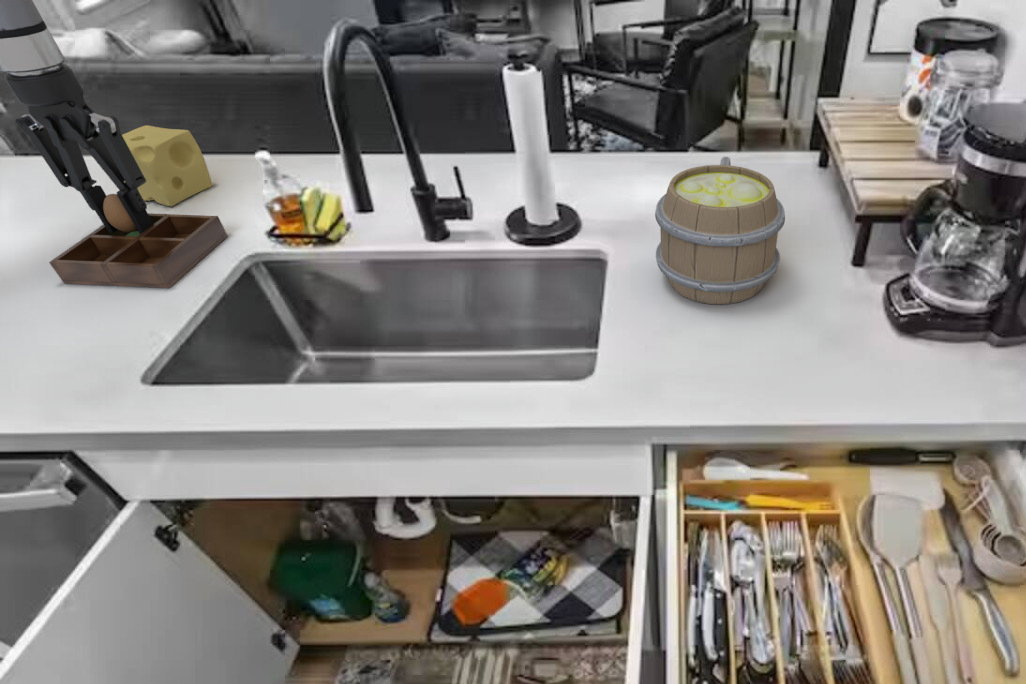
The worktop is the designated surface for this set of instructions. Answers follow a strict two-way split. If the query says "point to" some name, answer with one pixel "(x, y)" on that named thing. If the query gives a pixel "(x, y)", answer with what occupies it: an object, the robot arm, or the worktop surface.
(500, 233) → the worktop surface
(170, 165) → the cheese
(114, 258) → the grid
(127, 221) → the egg
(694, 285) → the mug
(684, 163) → the worktop surface
